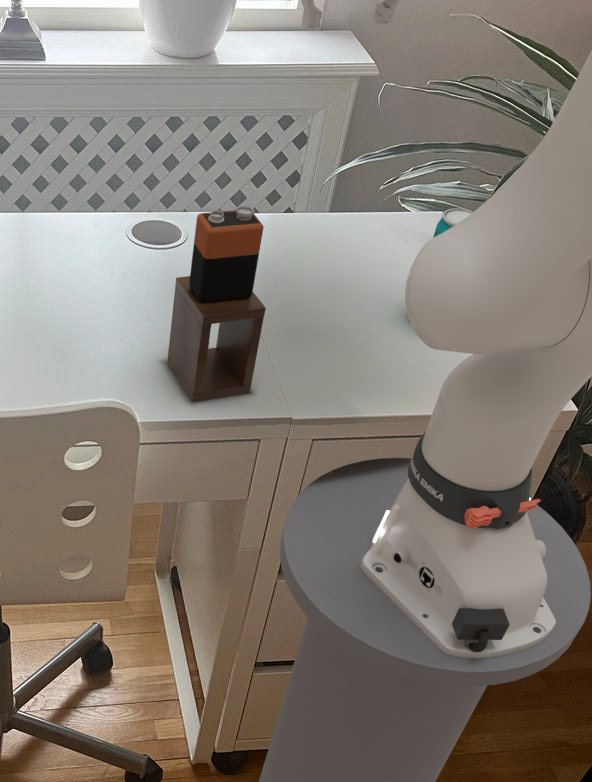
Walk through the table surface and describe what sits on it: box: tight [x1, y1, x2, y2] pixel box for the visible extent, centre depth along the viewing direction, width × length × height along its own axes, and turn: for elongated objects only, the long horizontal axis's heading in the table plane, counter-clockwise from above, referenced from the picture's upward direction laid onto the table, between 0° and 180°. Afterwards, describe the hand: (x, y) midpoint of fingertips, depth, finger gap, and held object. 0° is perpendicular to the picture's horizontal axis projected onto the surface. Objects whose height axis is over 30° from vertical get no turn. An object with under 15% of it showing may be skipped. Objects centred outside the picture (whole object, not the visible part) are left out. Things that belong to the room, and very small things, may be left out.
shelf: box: [166, 275, 267, 403], centre depth 125 cm, size 9×8×12 cm
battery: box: [189, 205, 264, 303], centre depth 116 cm, size 4×7×10 cm, turn 106°
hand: (346, 24), depth 116 cm, fingers open, 8 cm apart
